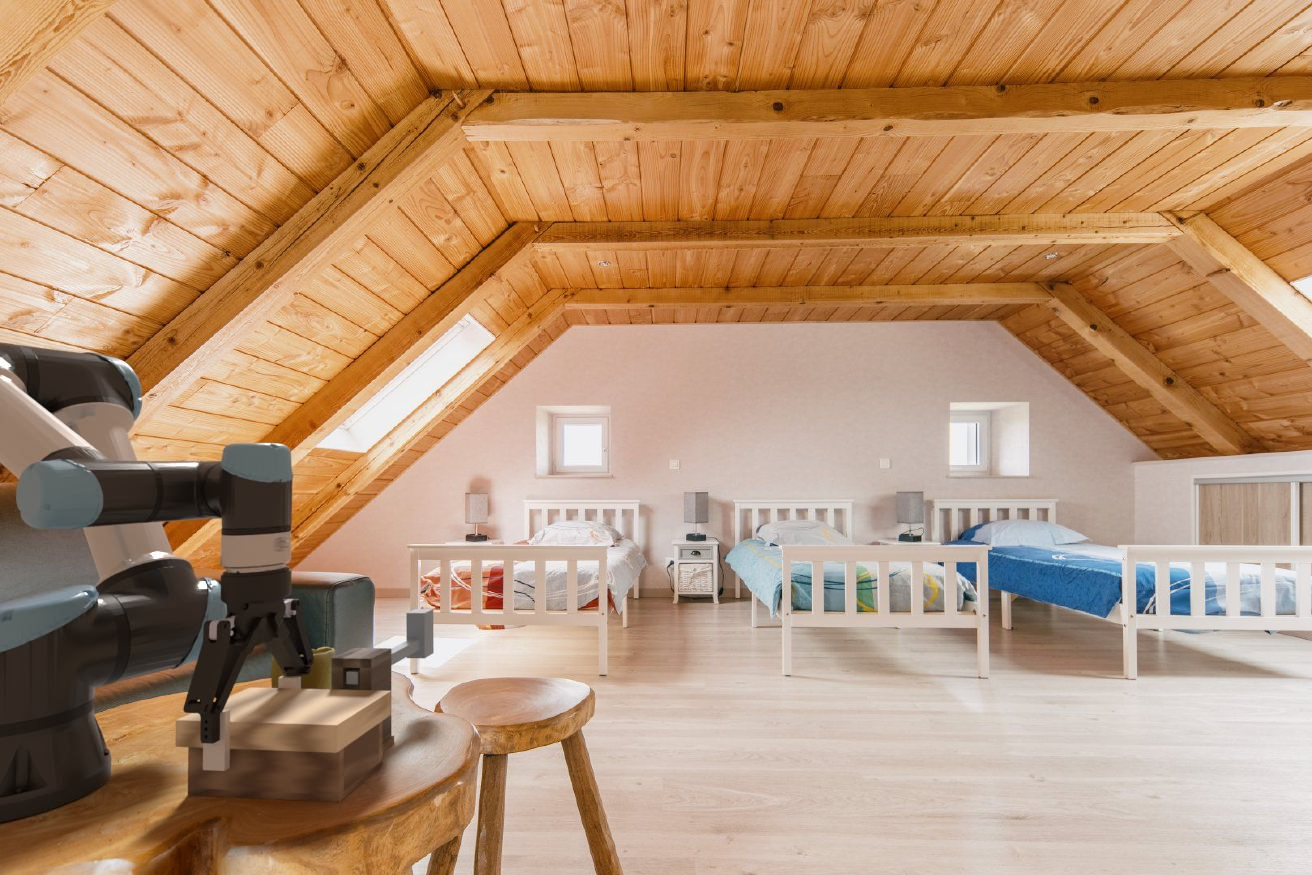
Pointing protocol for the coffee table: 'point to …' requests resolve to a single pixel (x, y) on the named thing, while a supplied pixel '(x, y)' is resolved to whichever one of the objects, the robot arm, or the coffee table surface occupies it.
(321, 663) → the mug
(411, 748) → the coffee table surface
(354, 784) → the toolbox
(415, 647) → the sliding bolt
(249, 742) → the lid
